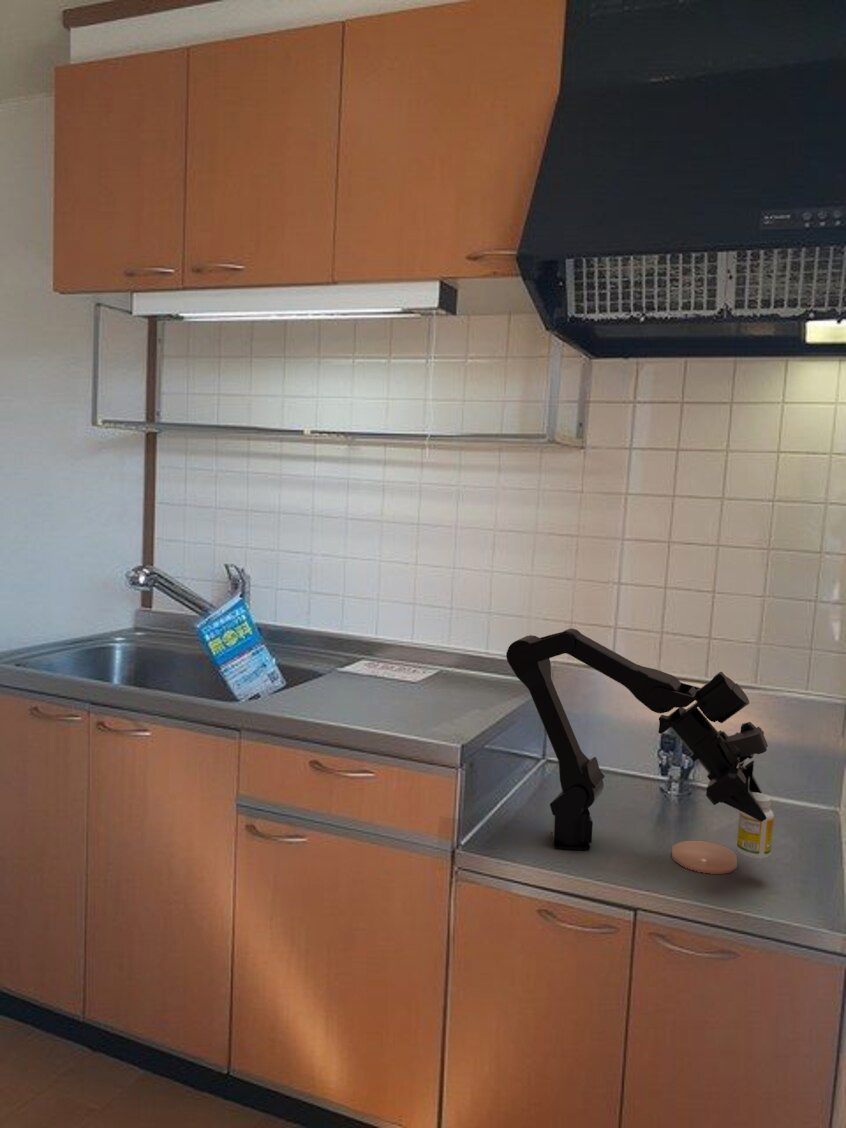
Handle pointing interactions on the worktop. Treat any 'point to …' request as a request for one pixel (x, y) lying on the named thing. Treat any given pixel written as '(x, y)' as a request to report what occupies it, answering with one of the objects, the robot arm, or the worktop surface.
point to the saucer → (704, 857)
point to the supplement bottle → (756, 830)
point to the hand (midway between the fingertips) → (765, 814)
